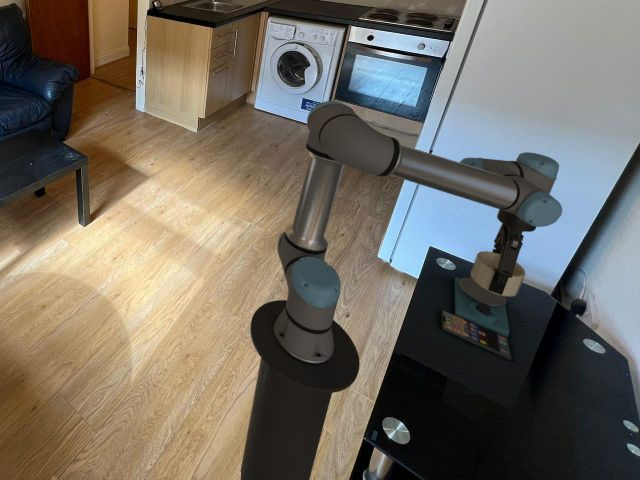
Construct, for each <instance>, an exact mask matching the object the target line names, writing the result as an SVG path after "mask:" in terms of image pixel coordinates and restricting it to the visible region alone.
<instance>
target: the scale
mask: <svg viewBox="0 0 640 480" xmlns="http://www.w3.org/2000/svg"><path fill="white" fill-rule="evenodd" d="M461 278H462V277H458V276H455V278H454V283H453V284H454V315H455V316H458V317H460V318H462V319H465V320H467V321H469V322H472V323H474V324H476V325H479V326H481V327H483V328H486V329H488V330H491V331H493V332H495V333H498V334H500V335H502V336H505V337H507V338H508V337H509V335H510V326H509V321H508V320H509V319H508V315H507V309H506V304H505V305H504V306H502V307H494V306H489V305H487V306H489V307H490V308H491V312H490V314H489V315H485V314H483V313H481V312H479V311H478V310H477V306H478V304H479V303H481V302H478V301H476V300H474V299H473V298H471V297H470V296H468V295H467V294H466V293H464V292H463V291H462V290H461V288H460V287H459V284H458V282H459V280H460V279H461Z"/></svg>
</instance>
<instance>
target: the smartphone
mask: <svg viewBox="0 0 640 480" xmlns="http://www.w3.org/2000/svg"><path fill="white" fill-rule="evenodd" d="M441 329H442V330H443V331H445V332H447V333H449V334H451V335H454V336H455V337H459V338H460V339H463V340H465V341H467V342H470V343H471V344H474V345H476V346H478V347H481V348H483V349H485V350H487V351H489V352H492V353H494V354H496V355H499V356H501V357H503V358H505V359H507V360H510V361H511V360H512V353H511V349H510V344H509V339H508V337H506V336H504V335H501V334H499V333H497V332H494V331H492V330H489V329H487V328H485V327H482V326H480V325H478V324H475V323H473V322H470V321H468V320H466V319H463V318H461V317H458V316H456V315H455V314H453V313H450V312H448V311H446V310H443V309H442V310H441Z"/></svg>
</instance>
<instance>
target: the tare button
mask: <svg viewBox="0 0 640 480" xmlns="http://www.w3.org/2000/svg"><path fill="white" fill-rule="evenodd" d="M477 310H478V311H479V312H481V313H483V314H485V315H489V314H490V312H491V308H490V307H489V306H487V305H486V304H483V303H479V304H478V306H477Z"/></svg>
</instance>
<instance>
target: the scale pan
mask: <svg viewBox="0 0 640 480" xmlns="http://www.w3.org/2000/svg"><path fill="white" fill-rule="evenodd" d="M460 278H461V279H460V280H459V282H458V284H459V287H460V288H461V290H462V291H463V292H464V293H466V294H467V295H468V296H470V297H471V298H473V299H474V300H476V301H478V302H481V303H483V304H486V305H489V306H494V307H502V306H504V305H505V306H506V305H507V297H506V296H501V295H498V294H494V293H492V292H490V291H488V290H486V289H484V288H482V287H481V286H480V285H478V284H477V283H476V282H475V281H474V280H473V278H472V277H460Z"/></svg>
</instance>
